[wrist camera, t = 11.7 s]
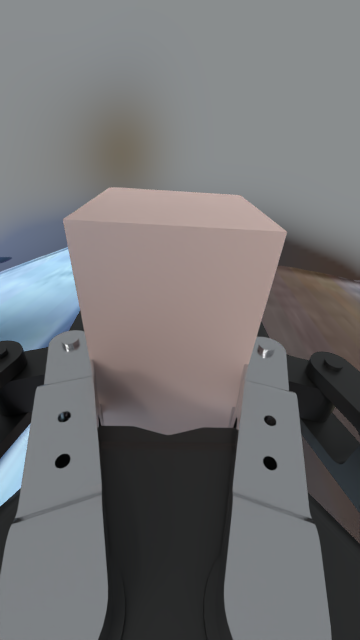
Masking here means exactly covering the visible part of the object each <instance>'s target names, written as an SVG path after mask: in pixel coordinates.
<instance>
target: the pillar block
mask: <svg viewBox="0 0 360 640" xmlns="http://www.w3.org/2000/svg"><path fill="white" fill-rule="evenodd" d="M63 223H64V227H65V233H66V238H67V243H68V249H69V254H70V259H71V265H72V270H73V275H74V280H75V285H76V291H77V296H78V301H79V306H80V311H81V317H82V322H83V327H84V332H85V337H86V343H87V348H88V353H89V358H90V359H92V360H93V361H94V366H95V373H96V384H97V393H98V400H99V404H101V405H102V410H103V418H104V426H135V427H139V428H142V429H146V430H150V431H153V432H157V433H161V434H165V435H172V434H177V433H181V432H185V431H189V430H194V429H198V428H202V427H214V428H228V426H229V419H230V414H231V410H232V407H236V404H237V400H238V395H239V388H240V381H241V374H242V371H243V367H244V364H249V361H250V358H251V354H252V351H253V347H254V344H255V341H256V337H257V334H258V330H259V327H260V323H261V320H262V316H263V313H264V310H265V306H266V303H267V299H268V296H269V292H270V289H271V286H272V282H273V279H274V275H275V272H276V268H277V265H278V261H279V258H280V255H281V251H282V248H283V244H284V241H285V237H286V234H287V231H285V230H284V229H283V228H281V227H280V226H279V225H278V224H276V223H275V222H274V221H272V220H271V219H270V218H269V217H267V216H266V215H265V214H264V213H262V212H261V211H260V210H259V209H257V208H256V207H255V206H253V205H252V204H251V203H250V202H248V201H247V200H246V199H245V198H243V197H242V196H241V195H228V194H227V195H226V194H212V193H196V192H180V191H163V190H148V189H131V188H114V187H110V188H108V189H107V190H105V191H104V192H102V193H101V194H99V195H98V196H97V197H95V198H94V199H92V200H91V201H89V202H88V203H86V204H85V205H83V206H82V207H80V208H79V209H77V210H76V211H74V212H73V213H71V214H70V215H69V216H67V217H66V218H64V219H63Z"/></svg>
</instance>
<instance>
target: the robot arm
mask: <svg viewBox="0 0 360 640" xmlns="http://www.w3.org/2000/svg"><path fill="white" fill-rule="evenodd" d="M335 407H336V408H337V409H338V410H339V411H340V412H341V413H342V414H343V415H344V416H345V417H346V418H347V419H348V420H349V421H350V422H351V423H352V425H353V426H354V427H355V428H356V429H357V431H358V432H359V435H360V372H359V371H358V370H357V369H356V368H355V367H353V366H352V365H351V364H350V363H349V362H347V361H346V360H345V359H343V358H342V357H340V356H338V355H335V354H332V353H329V352H316V353H314V354H313V355H312V356H311V358H310V360H305V359H301V358H297V357H293V356H290V355H287V354H286V351H285V349H284V347H283V346H282V345H281V344H280V343H278V342H277V341H275V340H273V339H270V338H269V336H268V334H267V332H266V330H265V328H264V326H263V324H262V322H261V323H260V327H259V330H258V334H257V337H256V341H255V344H254V347H253V351H252V354H251V358H250V361H249V364H244V367H243V371H242V374H241V381H240V388H239V395H238V400H237V404H236V407H232V410H231V414H230V419H229V426H228V428H214V427H202V428H198V429H194V430H189V431H185V432H181V433H177V434H172V435H165V434H161V433H157V432H153V431H150V430H146V429H142V428H139V427H135V426H104V418H103V410H102V405H101V404H99V400H98V393H97V384H96V373H95V366H94V361H93V360H92V359H90V358H89V353H88V348H87V343H86V337H85V332H84V327H83V322H82V317H81V311H80V312H79V314H78V315H77V317H76V319H75V321H74V323H73V324H72V326H71V328H70V330H69V331H67V332H63V333H61V334H59V335H57V336H55V337H54V338H53V339H52V340H51V341H50V343H49V347H46V348H41V349H36V350H30V351H25V352H24V351H23V348H22V346H21V345H20V344H19V343H18V342H15V341H1V342H0V458H1V457H2V456H3V455H4V453H5V452H6V451H7V450H8V449H9V448H10V446H11V445H12V444H13V443H14V442H15V441H16V439H17V438H18V437H19V436H20V435H21V433H22V432H23V431H24V430H25V429H26V428H27V426H28V425H29V424H30V423H31V425H30V432H29V438H28V445H27V452H26V458H25V465H24V471H23V478H22V485H21V489H19V490H18V491H17V492H16V493H15V494H14V495H13V496H12V497H10V498H9V499H8V500H7V501H6V502H5V503H4V504H3V505H2V506H0V640H360V544H359V543H358V542H357V541H356V540H355V539H354V538H353V537H352V536H351V535H350V534H349V533H348V532H347V531H346V530H345V529H344V528H343V527H342V526H341V525H340V524H339V523H338V522H337V521H336V520H335V519H334V518H333V517H332V516H331V515H330V514H329V513H328V512H327V511H326V510H325V509H324V508H323V507H322V506H321V505H320V504H319V503H318V502H317V501H316V500H315V499H314V498H313V497H312V496H311V495H310V494H309V493H308V492H307V483H306V474H305V464H304V455H303V446H302V437H301V434H302V435H303V437H304V438H305V439H306V441H307V442H308V444H309V445H310V446H311V448H312V449H313V450H314V452H315V453H316V454H317V456H318V457H319V458H320V460H321V461H322V462H323V464H324V465H325V467H326V468H327V469H328V471H329V472H330V473H331V475H332V476H333V477H334V479H335V480H336V481H337V483H338V484H339V486H340V487H341V488H342V490H343V491H344V492H345V494H346V495H347V496H348V498H349V499H350V500H351V502H352V503H353V505H354V506H355V507H356V509H357V510H358V511H359V513H360V443H359V442H358V441H357V440H356V438H355V437H354V436H353V435H352V434H351V433H350V432H349V431H348V430H347V429H346V427H345V426H344V425H343V424H342V423H341V422H340V421H339V420H338V419H337V417H336V416H335V415H334V414H333V413H332V411H333V410H334V408H335Z"/></svg>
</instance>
